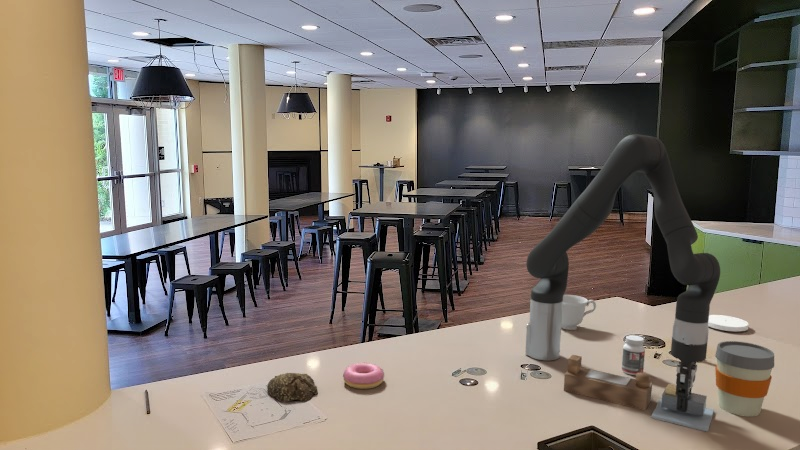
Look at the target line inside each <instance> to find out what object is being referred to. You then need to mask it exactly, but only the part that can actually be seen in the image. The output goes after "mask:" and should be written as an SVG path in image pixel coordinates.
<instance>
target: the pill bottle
mask: <svg viewBox="0 0 800 450" xmlns="http://www.w3.org/2000/svg"><path fill="white" fill-rule="evenodd" d="M625 342H626V343H625V344H623V346H622V347H623V348H622V357H621V358H622V359H621V371H622V372H623V373H624V374H626V375H630V376H636V374H637V373H644V370H645V369H644V368H645V367H644V366H645V355H646V348H645V346H644V345H643V344H644V343H645V338H643V337H642V336H640V335H639V336H638V335H626V336H625Z"/></svg>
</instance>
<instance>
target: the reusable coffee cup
mask: <svg viewBox="0 0 800 450" xmlns="http://www.w3.org/2000/svg"><path fill="white" fill-rule="evenodd" d="M714 357H715V359H716V365H715V367H714V369H715V370H714V371H715V385H716V387H717V392H718V393H717V396H718V407H719V408H720V409H722V410H723V411H725V412H728V413H729V414H732V413H733V414H732V415H735V416H743V417H756V416H759V415H760V413H761V409H762V407H763V404H764V403H763V402H764V400H765V397H766V396H768V392H769V389H770V386H771V381H772V375H771V373H772V370H773V369H774V368H775V353H774V351H773V350H771V349H770V348H768V347H764V346H762V345H759V344H755V343H750V342H745V341H738V340H737V341H736V340H727V341H725V340H724V341H721V342H718V343H717V345H716V350H715V355H714Z"/></svg>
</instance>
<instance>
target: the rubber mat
mask: <svg viewBox="0 0 800 450" xmlns="http://www.w3.org/2000/svg"><path fill="white" fill-rule="evenodd" d="M659 398H660V399H659V400H658V402H657V404H656V406H655V408H654V410H653V412H652V414H650V415H651V417H650V418H651V419H655V420H658V421H662V422H663V421H664V422H667V423H671V424H675V425H679V426H683V427H687V428H690V429H694V430H698V431H703V432H709V428H710V427H711V426H710V425H711V422H712V418H713V415H714V411H715V410H714V409H712V408H708V407H706V409H705V412H704V415H703V417H702V416H698V415H693V414H689V413H685V412H681V411H677V410H672V409H668V408H664V407H661V404H662V397H659Z"/></svg>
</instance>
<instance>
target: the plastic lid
mask: <svg viewBox="0 0 800 450" xmlns="http://www.w3.org/2000/svg"><path fill="white" fill-rule="evenodd" d="M709 327H710V328H713V329H715V330H720V331H726V332H745V331H748V330H749V322H748V321H746V320H744V319H742V318H738V317H736V316H735V317H734V316H730V315H725V314H724V315H723V314H722V315H721V314H709V320H708V328H709Z"/></svg>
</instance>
